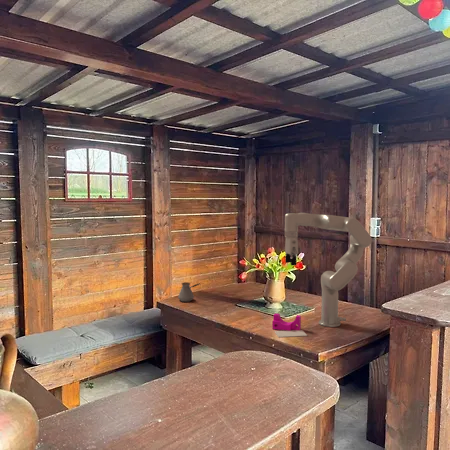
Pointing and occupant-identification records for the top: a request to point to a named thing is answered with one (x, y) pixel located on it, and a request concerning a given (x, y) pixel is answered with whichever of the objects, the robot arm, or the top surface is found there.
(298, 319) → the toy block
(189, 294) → the coffee pot
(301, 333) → the mat
